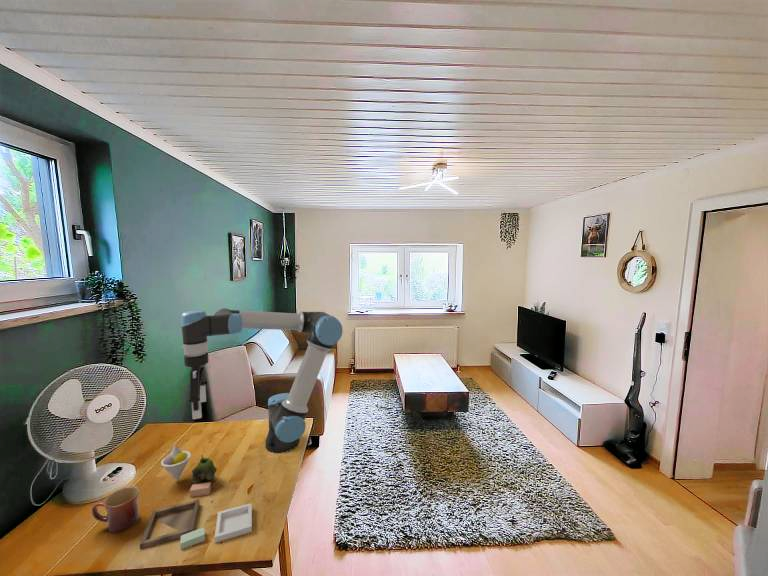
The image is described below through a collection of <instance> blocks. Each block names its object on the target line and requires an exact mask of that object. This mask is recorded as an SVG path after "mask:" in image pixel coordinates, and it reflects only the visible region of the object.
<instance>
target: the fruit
mask: <svg viewBox="0 0 768 576" xmlns="http://www.w3.org/2000/svg"><path fill="white" fill-rule="evenodd" d="M216 472H217V467H216V466H215V465H214V461H213V459H211V458H210V457H203V454H201V458H200V460H199V461H198V464H197V465H196V466H195V467H193V469H192V470H191V474H192V476H191V478H190V482H191V483H193V485H194V484H200V483H207V482H211V483H212V482H213V481H215V480H217V479H218V477H216V475H215V474H216Z"/></svg>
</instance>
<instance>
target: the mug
mask: <svg viewBox="0 0 768 576" xmlns="http://www.w3.org/2000/svg"><path fill="white" fill-rule="evenodd" d="M140 492H141V489H140V488H139V486H126V487H123V488H120V489H117V490H115V491H114V492H112V493H110V494H109V495H107V497H106V498H105V499H104V500H100V501H98V502H96V503H94V505H93V506H92V508H91V513H92V516H93V518H94V519H95V520H96V521H99V522H102V523H107V529H108V531H109V533H112V534H119V533H122V532H125V531H127V530H130V528H131V529H132V528H133V527H134V526H135V525H136V524H137V523H138V521H139V515H140V512H139V510H140V509H139V505H138V504H139V503H138V500H139V495H140ZM98 507H103V508H104V509H105V510H106V514H107V515H102V514H100V513H99V511H98Z"/></svg>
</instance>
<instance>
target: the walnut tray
mask: <svg viewBox="0 0 768 576" xmlns="http://www.w3.org/2000/svg"><path fill="white" fill-rule="evenodd" d="M199 508H200V499H195V500H194V499H193V500H190V501H187V502H183V503H179V504H176V505H170V506H167V507H162V508H160V509H155V510H153V511H152V512H151V514H150V518H149V520H148V523H147V525H146V527H145V530H144V533H143V535H142V538H141V540H140V543H139V549H141V550H142V549H145V548H148V547H152V546H155V545H156V546H157V545H159V544H163V543H167V542H171V541H174V540H179V539H181V535H184V534H187V533H189V532H192V531H195V527H196V526H195V525H196V522H197V517H198V513H199ZM155 521H157V522H160V523H161V524H164V525H165V526H168V527H170V528H172V529H175V530H177V531H174V532H170V533H167V534H163V535H160V536H156V537H153V538H149V536H150V535H151V532H152V529H153V527H154V524H155ZM148 538H149V539H148Z"/></svg>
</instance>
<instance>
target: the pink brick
mask: <svg viewBox="0 0 768 576" xmlns="http://www.w3.org/2000/svg"><path fill="white" fill-rule="evenodd" d="M211 490H212V481H211V482H207V483H200V484H194V483H193V484H192V485H191V487H190V488H189V498H193V497H201V496H208V495H210V493H211Z"/></svg>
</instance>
